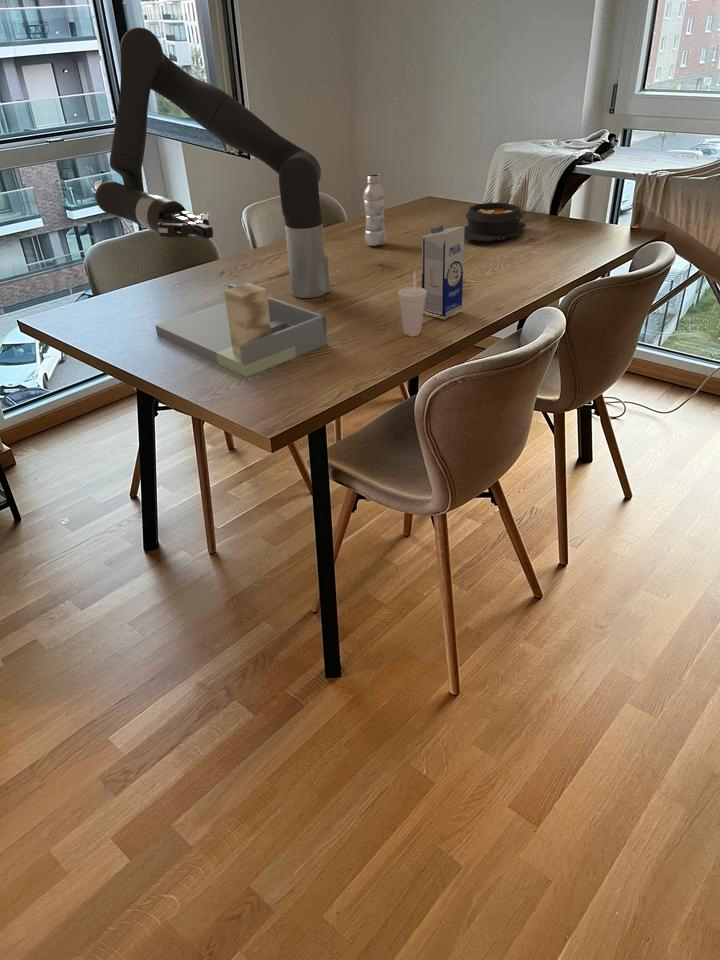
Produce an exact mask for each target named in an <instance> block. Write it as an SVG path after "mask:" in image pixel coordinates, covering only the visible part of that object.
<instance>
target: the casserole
mask: <svg viewBox="0 0 720 960" xmlns="http://www.w3.org/2000/svg"><path fill="white" fill-rule="evenodd" d="M522 217H523V213H521V209H520V207H519V206H517V205H516V204H512V203H507V202H506V203H505V202H483V203H478V204H474V205H472V206H469V209H468V211H467V213H466V214H465V218H466V219H467V225H466V226H465V228H464V240H465V239H466V240H469V241H476V242H494V240H498V239H503V238H509V239H511V238H514V237H517V236H519V235H521V234H523V233H524V231H525V227H526V225H527V224H526V223H524V222H523V221H520V220H521V219H522ZM510 237H511V238H510ZM498 241H499V240H498Z"/></svg>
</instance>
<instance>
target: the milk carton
mask: <svg viewBox="0 0 720 960" xmlns="http://www.w3.org/2000/svg"><path fill="white" fill-rule="evenodd" d="M464 228H465V226H454V227H450V228H444V226H443V225H437V226H435V227H432V228H430V233H429V234H426V235H423V236H422V237H421V288H423V289H425V290H426V291H427V297H426V298H425V304H424V311H426V312H429V313H432V314H436V315H440V316H444V317H445V316H447V315H449V314H451V313H452V312H454V311H456V310H459V309H461V308H462V309H463V284H464V283H463V282H464V255H465V254H464V253H465V252H464V251H465V250H464V249H465V238H464Z"/></svg>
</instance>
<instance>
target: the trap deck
mask: <svg viewBox="0 0 720 960" xmlns="http://www.w3.org/2000/svg"><path fill="white" fill-rule="evenodd" d="M227 285H228V288H227V289H230V288H233V287H236V286H238V285H236V284H234V283H229V284H227ZM267 298H268V307H269V316H270V325H271V334H270V335H267V336H264V337H261V338H259V339H256V340H253V341H251V342H248V343H245V344H243V345H240V352H241V355H240V354H238V353H236V352H234V351H233V350H232V343H231V336H230V328H229V321H228V314H227V307H226V301H225V302H223V303H219V304H216V305H213V306H210V307H207V308H204V309H200V310H198V311H195V312H192V313H188V314H186V315H182V316H180V317H177V318H174V319H171V320H168V321H163V322H161V323H158V324H155V325H154V327H155V330H156V331H155V332H156V336H157V337H159V338H161V337H162V338H161V339H163V338H164V340H166V341H168V342H170V343H173V344H174V345H176V346H179V347H181V348H183V349H185V350H188V351H189V352H192V353H194V354H195V355H198V356H200V357H203V358H204V359H206V360H209V361H211V362H214V363H215V364H217V365H219V366H222V367H224V368H227V369H228V370H230V371H232V372H235V373H237V374H239V375H241V376H244V377H246V378H248V377H250V376H252V375H255V374H258V373H260V372H262V371H265V370H267V369H270V368H273V367H275V366H278V365H280V364H283V363H285V362H287V361H290V360H292V359H295V358H297V357H300V356H302V355H305V354H307V353H310V352H312V351H314V350H318V349H320V348H322V347H324V346H327V345H328V333H327V332H328V331H327V317H326V315H324V314H320V313H318V312H316V311H312V310H310V309H306V308H304V307H301V306H298V305H294V304H291V303H289V302H286V301H283V300H280V299H277V298H274V297H271V296H269V295H267Z"/></svg>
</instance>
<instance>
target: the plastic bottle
mask: <svg viewBox="0 0 720 960" xmlns="http://www.w3.org/2000/svg"><path fill="white" fill-rule="evenodd" d="M366 179H367V180H366V182H367V186H366V188H365V189H364V191H363V204H364V209H365V232H364V241H365V243H366V245H367V246H369V245H370V247H378V246H377V245H380V246H383V245H384V244H385V243H386V241H387V240H386V239H387V232H386V228H385V227H386V226H385V218H384V213H385V212H384V211H385V200H386V199H385V198H386V193H385V191H384V188H383V187H382V185H381V184H380V183H381V174H375V173H374V174H371V173H370V174H368V175H367V177H366ZM382 244H383V245H382Z"/></svg>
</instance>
